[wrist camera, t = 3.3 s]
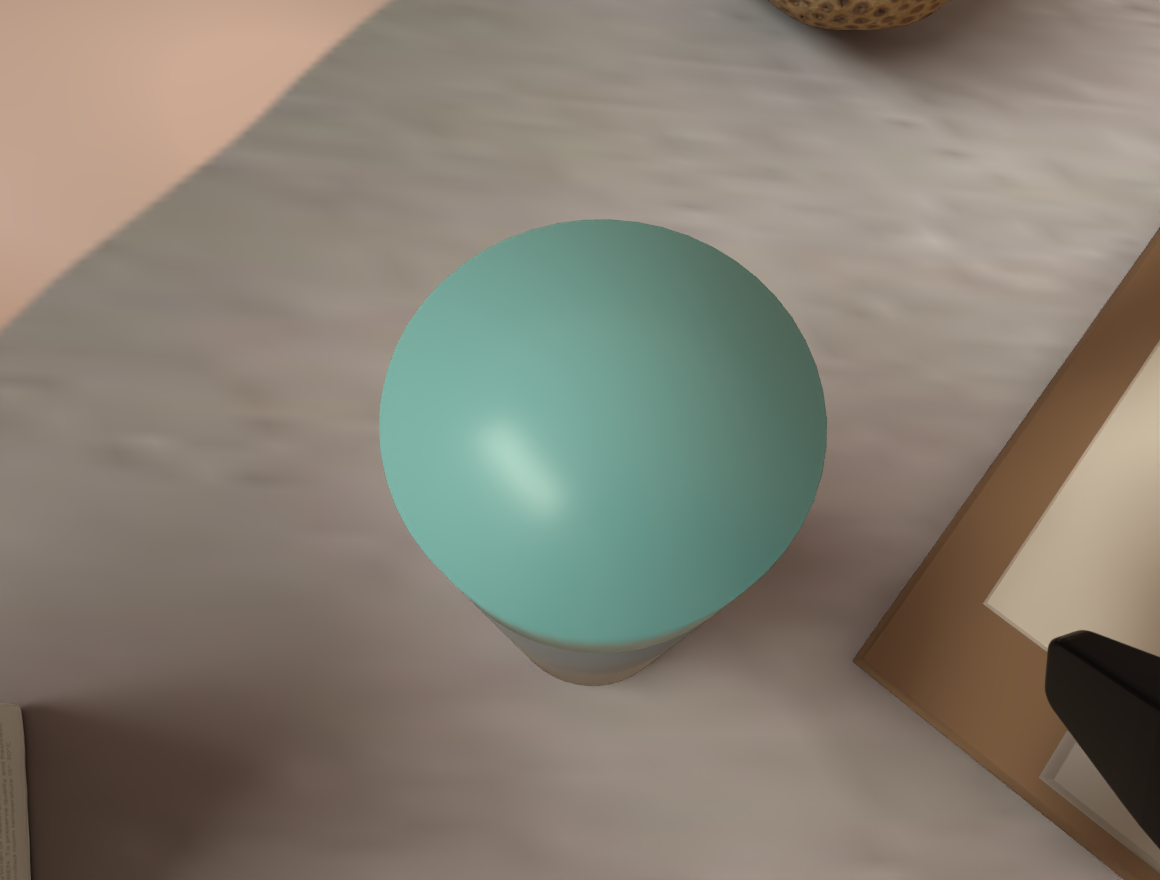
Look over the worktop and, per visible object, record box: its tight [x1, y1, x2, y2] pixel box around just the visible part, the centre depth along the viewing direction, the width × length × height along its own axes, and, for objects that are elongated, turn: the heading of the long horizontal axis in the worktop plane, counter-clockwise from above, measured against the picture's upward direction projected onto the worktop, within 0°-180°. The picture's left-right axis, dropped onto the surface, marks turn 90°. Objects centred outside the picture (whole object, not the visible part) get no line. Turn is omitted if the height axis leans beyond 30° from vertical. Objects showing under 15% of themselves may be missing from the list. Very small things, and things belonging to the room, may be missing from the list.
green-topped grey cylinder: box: [379, 220, 827, 686], centre depth 14 cm, size 4×4×13 cm
